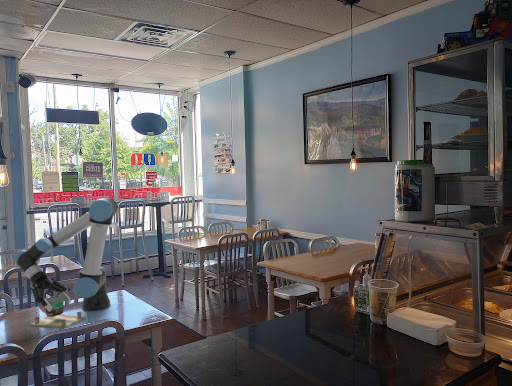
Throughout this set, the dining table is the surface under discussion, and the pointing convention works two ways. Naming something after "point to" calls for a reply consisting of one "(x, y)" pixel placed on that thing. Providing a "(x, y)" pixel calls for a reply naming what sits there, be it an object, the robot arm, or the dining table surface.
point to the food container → (55, 304)
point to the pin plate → (58, 321)
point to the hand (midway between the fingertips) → (60, 305)
